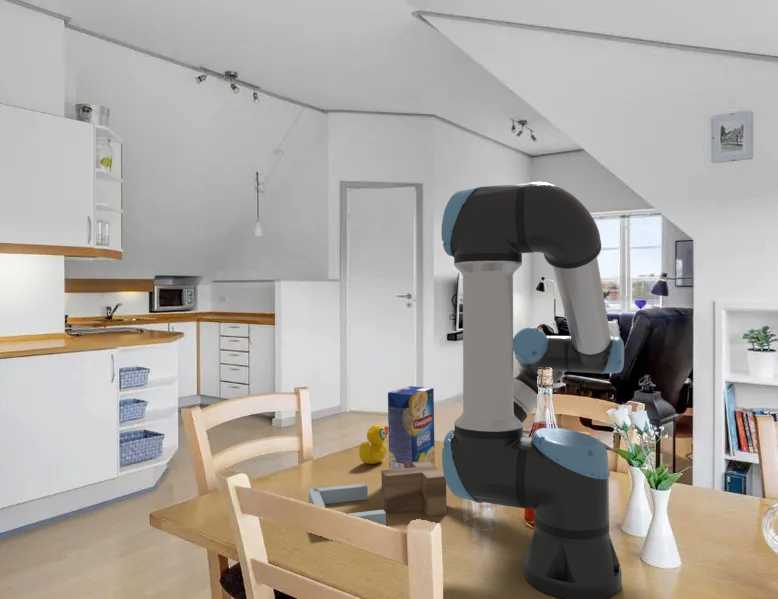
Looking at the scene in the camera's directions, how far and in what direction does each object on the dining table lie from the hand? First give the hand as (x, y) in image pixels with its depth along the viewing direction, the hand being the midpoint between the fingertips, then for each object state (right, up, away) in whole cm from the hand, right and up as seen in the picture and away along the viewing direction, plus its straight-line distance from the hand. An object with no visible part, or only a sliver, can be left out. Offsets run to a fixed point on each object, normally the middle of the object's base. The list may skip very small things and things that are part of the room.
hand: (447, 484), depth 133 cm
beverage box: (-7, -4, +17) cm, 19 cm away
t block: (-8, -4, -3) cm, 10 cm away
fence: (-22, -4, -6) cm, 23 cm away
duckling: (-17, -4, +31) cm, 36 cm away
